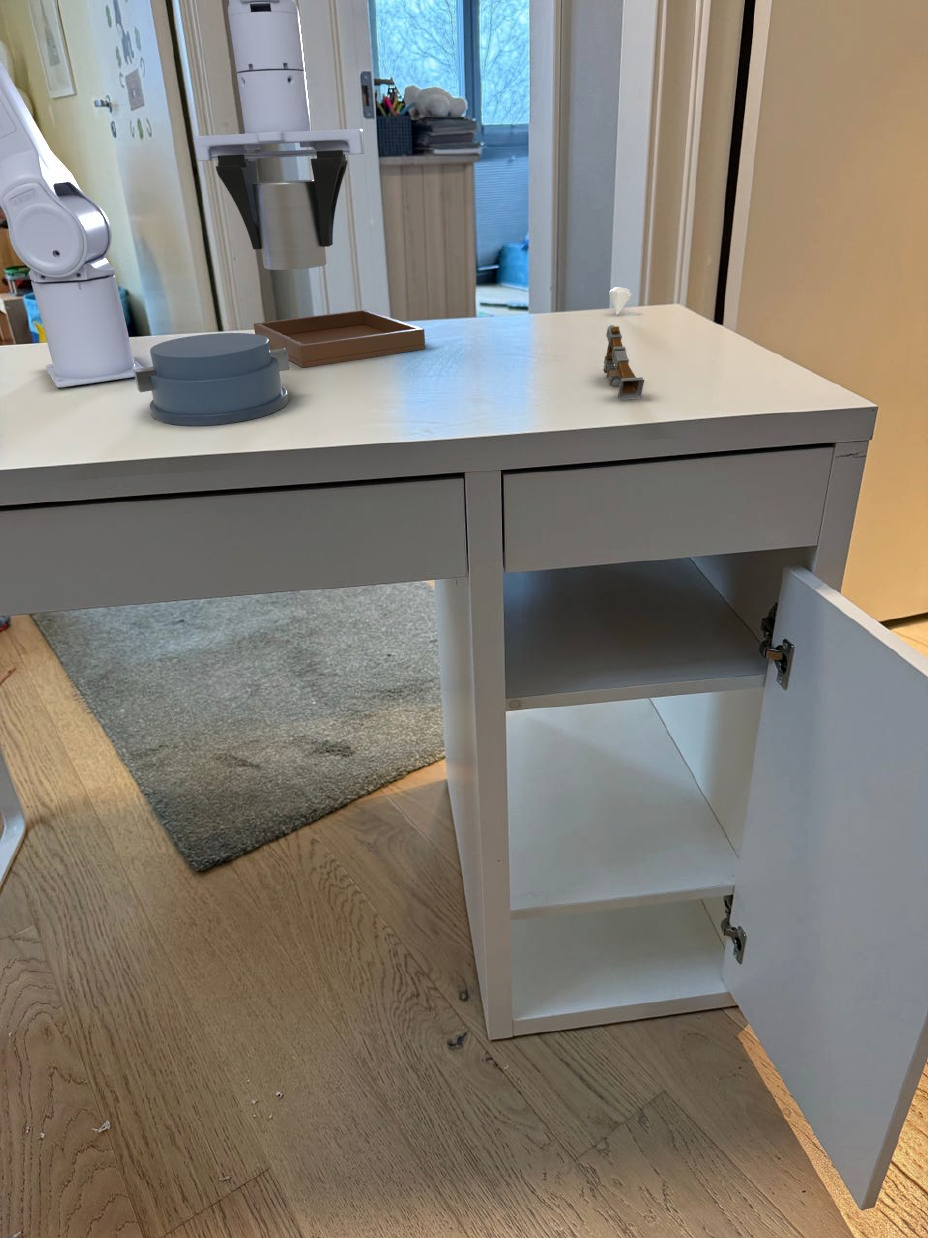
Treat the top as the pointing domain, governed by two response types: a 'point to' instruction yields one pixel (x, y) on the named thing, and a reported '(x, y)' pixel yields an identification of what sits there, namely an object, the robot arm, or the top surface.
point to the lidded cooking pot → (214, 379)
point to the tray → (340, 337)
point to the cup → (288, 224)
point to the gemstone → (620, 297)
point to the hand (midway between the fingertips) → (292, 246)
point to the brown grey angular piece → (620, 367)
